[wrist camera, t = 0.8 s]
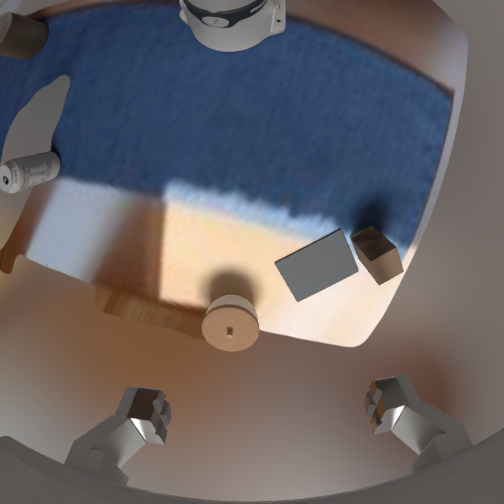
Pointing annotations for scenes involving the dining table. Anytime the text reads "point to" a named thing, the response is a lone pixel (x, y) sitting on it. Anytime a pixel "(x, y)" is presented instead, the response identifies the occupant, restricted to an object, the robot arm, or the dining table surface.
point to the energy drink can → (28, 171)
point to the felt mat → (317, 266)
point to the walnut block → (377, 254)
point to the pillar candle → (21, 36)
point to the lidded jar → (230, 323)
